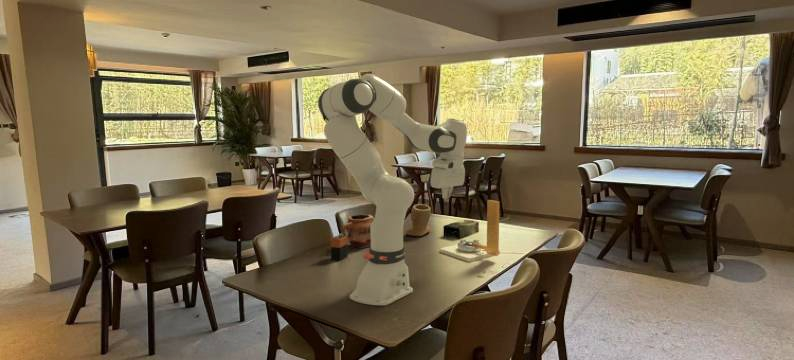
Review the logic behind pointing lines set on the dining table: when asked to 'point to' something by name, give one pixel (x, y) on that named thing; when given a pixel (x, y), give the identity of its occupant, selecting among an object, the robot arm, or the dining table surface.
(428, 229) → the stone cup
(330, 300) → the dining table surface
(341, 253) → the battery
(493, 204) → the orange post with disc
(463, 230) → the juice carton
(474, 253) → the base plate
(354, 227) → the decorative planter
